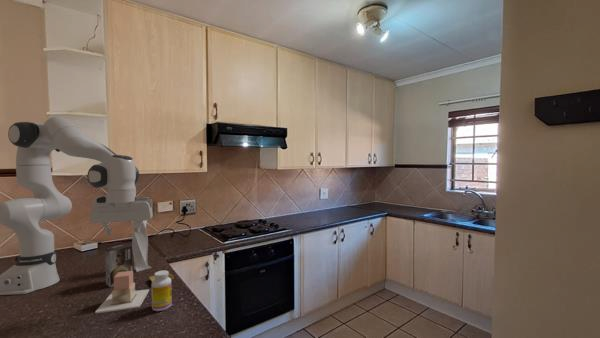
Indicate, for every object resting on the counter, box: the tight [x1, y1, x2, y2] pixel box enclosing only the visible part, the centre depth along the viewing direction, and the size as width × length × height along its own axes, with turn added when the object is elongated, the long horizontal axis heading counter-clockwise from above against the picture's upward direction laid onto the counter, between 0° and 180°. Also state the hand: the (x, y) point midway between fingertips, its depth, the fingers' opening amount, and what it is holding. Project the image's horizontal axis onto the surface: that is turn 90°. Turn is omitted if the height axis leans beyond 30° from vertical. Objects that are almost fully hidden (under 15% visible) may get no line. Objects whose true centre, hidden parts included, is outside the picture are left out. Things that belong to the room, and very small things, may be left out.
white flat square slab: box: [94, 288, 150, 315], centre depth 105 cm, size 14×14×1 cm
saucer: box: [148, 272, 175, 283], centre depth 123 cm, size 9×9×2 cm
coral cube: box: [113, 270, 134, 290], centre depth 105 cm, size 5×5×5 cm
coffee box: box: [104, 243, 134, 288], centre depth 122 cm, size 9×6×16 cm
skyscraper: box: [131, 220, 153, 273], centre depth 137 cm, size 8×8×28 cm
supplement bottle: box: [151, 269, 173, 312], centre depth 100 cm, size 7×7×13 cm
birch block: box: [111, 282, 136, 305], centre depth 105 cm, size 6×6×5 cm
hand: (123, 232), depth 104 cm, fingers open, 8 cm apart
